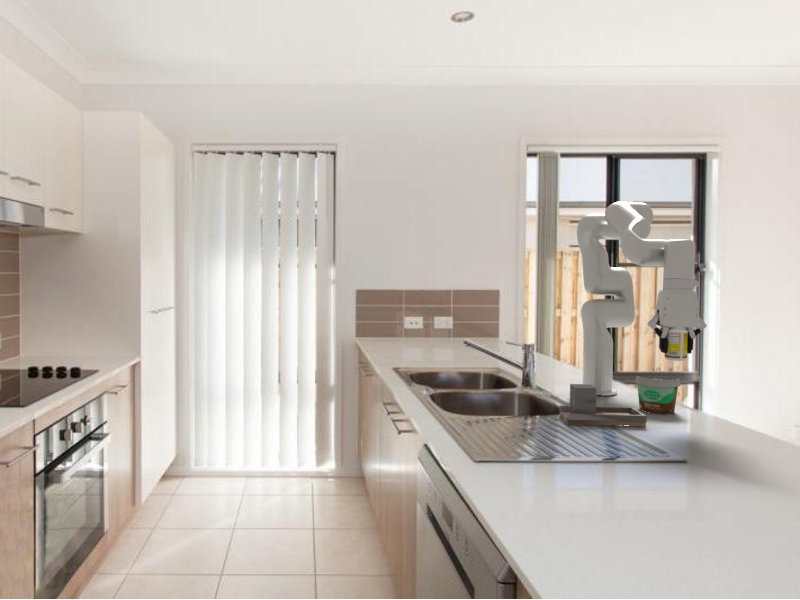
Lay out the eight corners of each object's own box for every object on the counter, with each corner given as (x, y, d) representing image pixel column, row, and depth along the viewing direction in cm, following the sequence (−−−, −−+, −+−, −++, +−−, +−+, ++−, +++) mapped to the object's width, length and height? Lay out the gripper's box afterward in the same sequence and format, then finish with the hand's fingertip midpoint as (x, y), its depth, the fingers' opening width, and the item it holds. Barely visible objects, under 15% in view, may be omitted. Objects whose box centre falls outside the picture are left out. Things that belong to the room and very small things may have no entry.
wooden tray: (559, 415, 167) (559, 382, 167) (632, 417, 166) (633, 383, 166) (567, 425, 156) (568, 389, 156) (646, 427, 155) (647, 390, 155)
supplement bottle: (681, 358, 164) (682, 321, 164) (690, 361, 159) (692, 322, 158) (660, 358, 164) (662, 320, 164) (669, 361, 159) (671, 322, 158)
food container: (631, 412, 173) (632, 377, 173) (634, 408, 179) (635, 374, 178) (678, 417, 167) (679, 381, 167) (679, 413, 173) (680, 378, 173)
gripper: (704, 285, 164) (702, 351, 165) (640, 284, 165) (638, 350, 166) (717, 286, 157) (714, 355, 157) (650, 285, 158) (648, 353, 158)
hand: (675, 352), depth 162 cm, fingers closed on supplement bottle, 5 cm apart
